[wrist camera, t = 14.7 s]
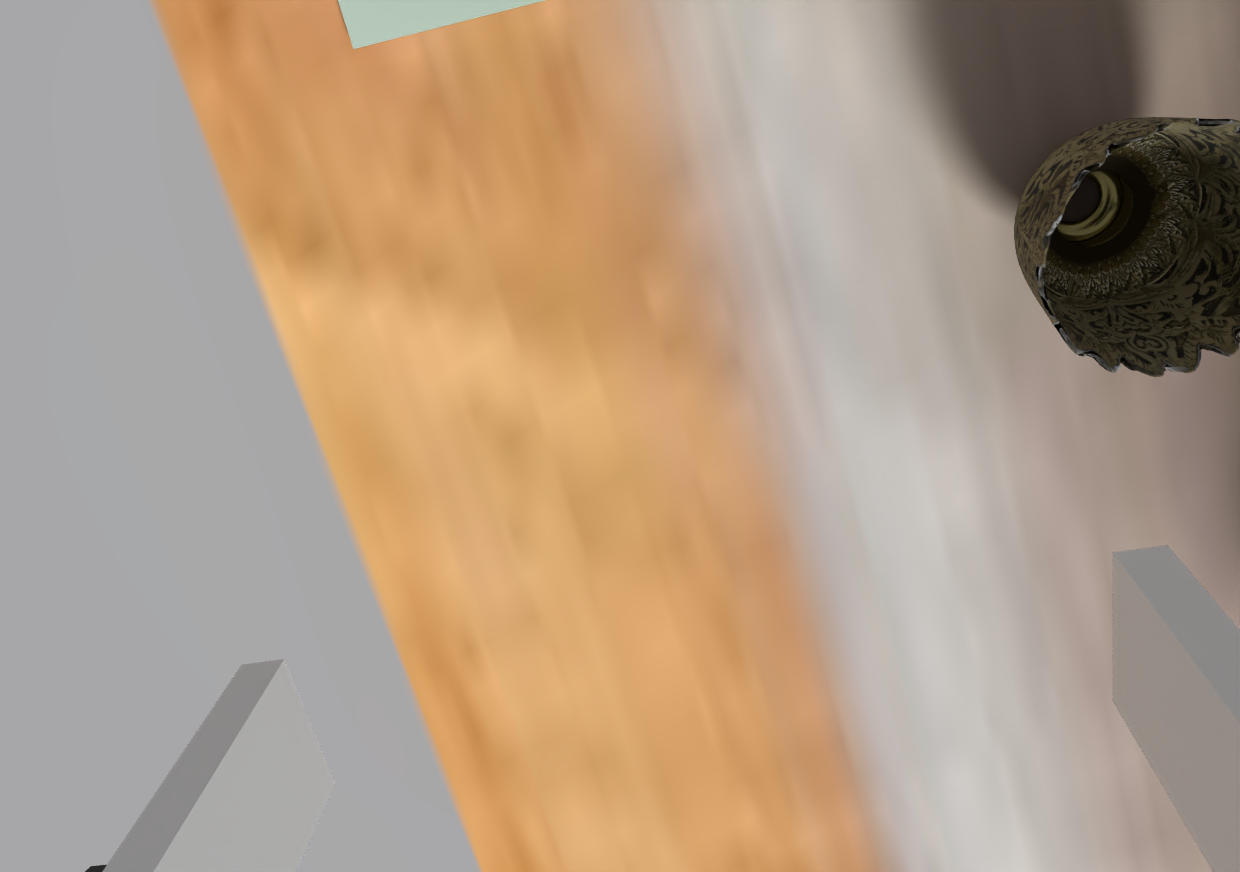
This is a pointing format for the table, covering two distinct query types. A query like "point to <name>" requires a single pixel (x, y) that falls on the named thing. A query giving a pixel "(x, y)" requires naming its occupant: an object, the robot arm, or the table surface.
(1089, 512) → the table surface
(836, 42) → the table surface
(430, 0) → the felt pad
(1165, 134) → the cup
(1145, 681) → the robot arm
